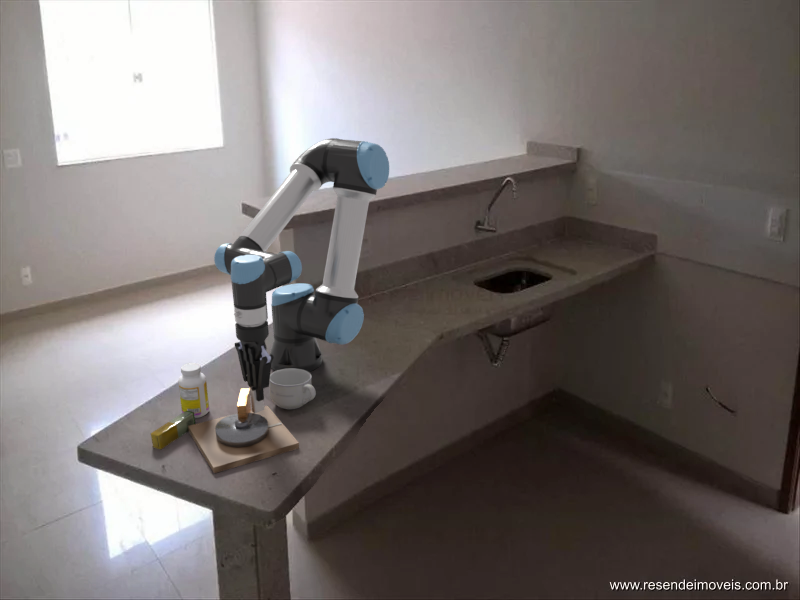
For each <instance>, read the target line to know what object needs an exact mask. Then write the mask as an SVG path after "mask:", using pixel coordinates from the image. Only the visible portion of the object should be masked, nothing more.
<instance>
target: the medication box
mask: <svg viewBox="0 0 800 600" xmlns="http://www.w3.org/2000/svg"><path fill="white" fill-rule="evenodd" d="M194 424H197V423H196V418H195V417H194V412H191V411H185V412H183V413H182V412H181V413H180V414H179V415H177V416H175V417H174V418H173V419H171V420H169V421H168V422H166V423H165V424H163V425H162V426H160V427H158V428H157V429H155V430H153V431H151V433H150V438H151V443H152V448H154V449H157V450H162V449H165V448H166V447H168V446H169V445H171V444H172V443H173V442H175V441H177V440H178V439H180V438H181V437H183V436H184V435H185V434H187V433H189V430H188V426H190V425H194Z"/></svg>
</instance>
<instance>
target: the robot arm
mask: <svg viewBox="0 0 800 600" xmlns="http://www.w3.org/2000/svg"><path fill="white" fill-rule="evenodd" d="M389 177H390V162H389V157H388V156H387V153H386V151H385V150H384V148H383V147H382V146H381V145H379V144H377V143H374V142H368V141H364V140H363V141H362V140H352V139H340V138H336V137H335V138H334V137H332V138H326V139H323V140H320V141H318V142H316V143H314V144H313V145H312V146H310V147H309V148H307V149H306V150H304V152H302V153H301V154H299V156H298V158H297V159H295V161H293V163H292V164H291V165H290V167H289V174H288V175H287V176H286V178H285V179H284V180H283V181H282V183H280V185H279V187H278V188H277V189H276V191H274V193H273V194H272V195H271V197H270V198H269V199H268V200H267V201H266V203H265V204H264V205H263V206H262V207H261V209H260V210H259V211H258V213H256V215H255V216H254V218H253V219H252V220H251V221H250V222H249V223H248V225H247V226H246V227H245V228H244V230H243V231H242V232H241V233H240V235H239V236H238V238H237V239H236V240H235V241H234V242H233V243H231V242H230V243H229V242H227V243H222V244H221V245H219V246H218V247H217V248H216V250H215V253H214V256H213V257H214V258H213V261H214V264H215V267H216V269H217V270H218V271H219V272H221V273H223V274H227V275H229V276H230V281H231V289H232V290H231V291H232V300H233V310H234V314H233V315H234V320H235V322H236V323H235V325H234V326H235V337H236V339H237V340H238V341H237V342H235V343H234V347H235V350H236V353H237V356H238V361H239V365H240V371H241V374H242V379H243V381H244V383H245V382H246V383H247V385H248V387H249V390H250V403H251V410H252V412H254V413H257V412H260V411H262V410H264V406H265V395H264V393H265V392H264V389H266V388H270V387H269V382H270V374H271V370H273V371H274V372H275V371H277V370H282V369H289V368H295V369H302V370H306V371H308V372H309V373H311V372H312V371H315V370H317V369H318V368H319V367H321V365H322V364H323V354H322V351H321V349H320V346H319V344H318V340H321V341H324V342H327V343H329V344H337V345H341V346H342V345H346V344H349V343H350V342H353V340H354V339H355V338H356V337H357V335H358V334H359V333H360V331H361V328H362V327H363V323H364V318H365V317H364V316H365V314H364V309H363V307H362V306H361V305H360V304H359V303H358V301H359V295H358V294H357V291H356V290H355V287H356V278H357V275H358V274H357V273H358V268H359V262H360V258H361V251H362V246H363V238H364V234H365V226H366V221H367V215H368V210H369V204H370V202H371V201H372V200H373V199H374V198H376V197H377V191H378V190H380V189H382V188H384V187H385V186H386V183H387V181H388V180H389ZM327 183H333V186H332V190H333V191H334V192H335V194H336V196H337V197H336V203H335V209H334V213H333V220H332V226H331V231H330V238H329V245H328V250H327V256H326V262H325V267H324V273H323V280H322V284H320V286H318V287H317V288H316V289H314V286H313V285H312V284H310V283H303V282H302V283H301V282H300V283H292V282H293V281H295V280H297V279H299V277H300V276H301V274H302V271H303V265H302V264H303V263H302V261H301V259H300V258H299V256H298V255H297V254H296V253H295V252H293V251H290V250H285V251H279V252H278V253H273V252H272V253H271V252H268V249H269V248H270V246H271V245H272V244H273V243H274V242H275V241H276V239H277V237H278V236H279V235H280V234H281V233H282V231H283V230H284V229H285V228H286V226H288V224H289V222H290V221H291V220H292V218H293V217H294V216H295V214H296V213H297V212H298V211H299V209H300V208H301V207H303V206H302V205H303V204H304V203H305V202H306V200H307V199H308V198H309V197H310V195H311V194H312V193H313V192H317V191H319V190H320V189H321V188H322V187H323V185H324V184H327ZM291 283H292V284H291ZM270 291H273V292H272V293H271V304H270V305H271V317H272V329H273V341H272V344H271V347H270V351H269V353H268V351H267V349H268V348H267V345H266V340H267V338H268V337H269V334H270V333H269V331H270V330H269V321H268V319H269V315H268V313H269V312H268V304H267V302H268V301H267V292H270ZM317 339H318V340H317Z"/></svg>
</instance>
